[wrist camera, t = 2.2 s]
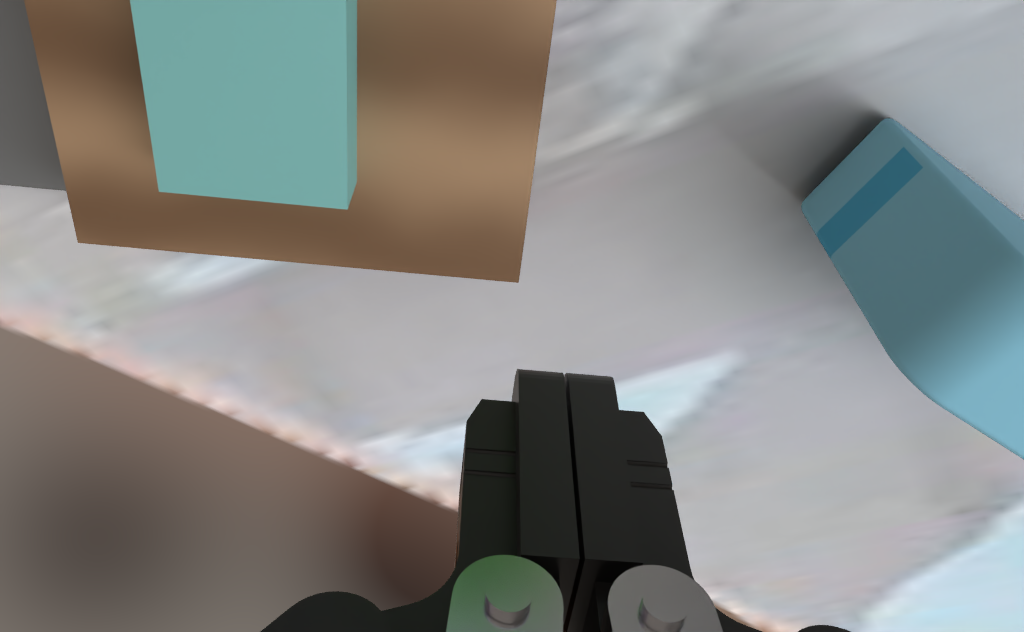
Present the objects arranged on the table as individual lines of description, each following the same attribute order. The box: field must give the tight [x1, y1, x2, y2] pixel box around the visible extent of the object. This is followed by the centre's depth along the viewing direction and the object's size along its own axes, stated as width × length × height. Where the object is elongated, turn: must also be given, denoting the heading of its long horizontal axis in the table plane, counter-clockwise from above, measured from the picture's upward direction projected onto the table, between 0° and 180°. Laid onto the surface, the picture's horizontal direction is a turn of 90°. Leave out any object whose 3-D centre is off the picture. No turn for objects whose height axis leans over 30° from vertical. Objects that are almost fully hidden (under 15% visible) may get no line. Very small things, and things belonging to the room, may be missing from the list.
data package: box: [801, 118, 1024, 459], centre depth 29 cm, size 12×4×12 cm, turn 56°
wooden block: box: [24, 0, 557, 283], centre depth 28 cm, size 16×16×4 cm
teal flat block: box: [130, 0, 357, 210], centre depth 25 cm, size 9×6×2 cm, turn 174°
